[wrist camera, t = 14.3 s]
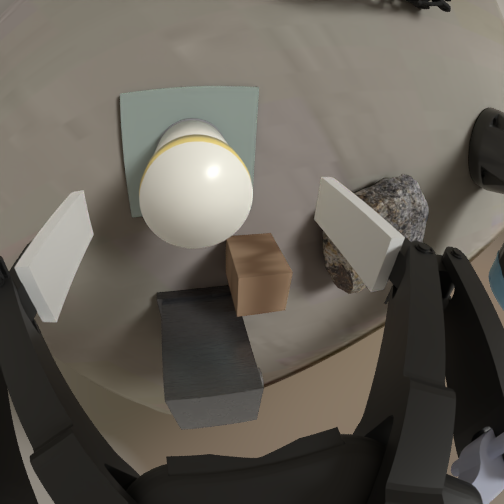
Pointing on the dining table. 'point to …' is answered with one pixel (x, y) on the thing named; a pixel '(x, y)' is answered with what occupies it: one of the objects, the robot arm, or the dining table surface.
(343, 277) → the rock
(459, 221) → the dining table surface
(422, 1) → the decorative element
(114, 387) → the dining table surface
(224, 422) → the box
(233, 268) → the walnut block
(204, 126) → the cartridge
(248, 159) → the mat
